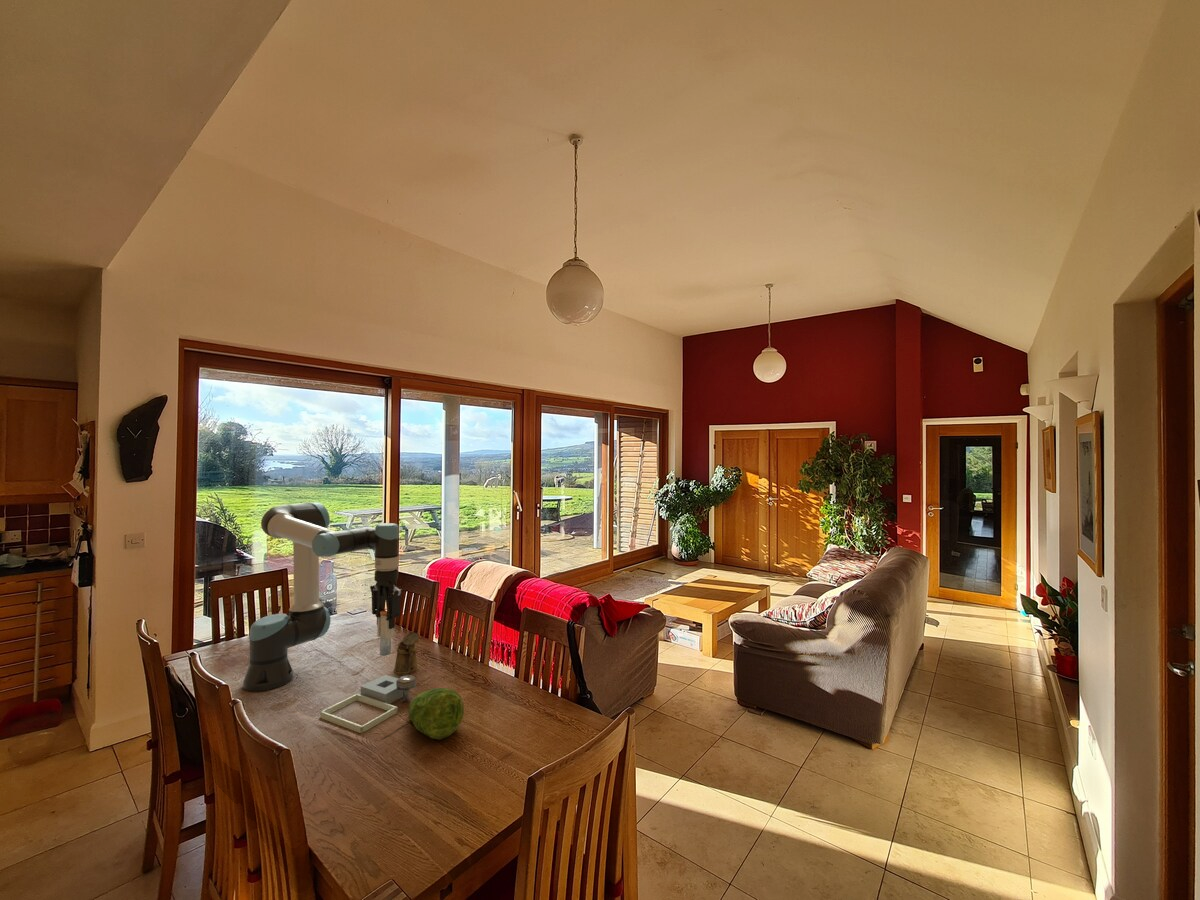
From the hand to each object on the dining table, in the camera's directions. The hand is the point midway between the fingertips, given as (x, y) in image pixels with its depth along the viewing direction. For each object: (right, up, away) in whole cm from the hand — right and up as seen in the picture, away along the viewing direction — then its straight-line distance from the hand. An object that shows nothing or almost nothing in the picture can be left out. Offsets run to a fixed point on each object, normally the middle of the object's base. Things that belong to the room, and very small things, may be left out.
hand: (385, 636), depth 170 cm
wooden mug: (0, -22, +19) cm, 29 cm away
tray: (-3, -21, -13) cm, 25 cm away
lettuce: (+22, -22, -18) cm, 36 cm away
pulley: (+8, -21, -3) cm, 23 cm away
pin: (0, -6, 0) cm, 6 cm away
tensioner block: (0, -21, 0) cm, 21 cm away
